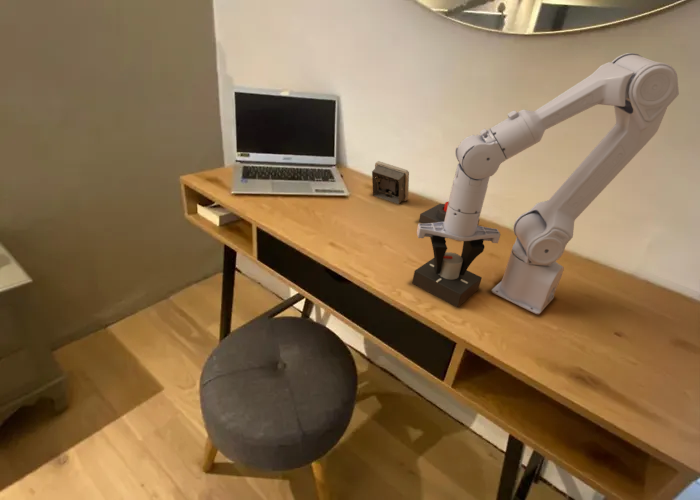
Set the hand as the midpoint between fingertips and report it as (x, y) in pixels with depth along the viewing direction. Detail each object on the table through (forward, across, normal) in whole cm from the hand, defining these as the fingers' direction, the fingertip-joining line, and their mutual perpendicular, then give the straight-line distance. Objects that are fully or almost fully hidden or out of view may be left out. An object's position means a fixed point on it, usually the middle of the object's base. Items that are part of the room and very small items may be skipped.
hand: (448, 271), depth 89 cm
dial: (0, 0, 0) cm, 0 cm away
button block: (+3, -6, -26) cm, 27 cm away
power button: (0, -6, -26) cm, 26 cm away
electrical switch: (+4, +7, -38) cm, 39 cm away
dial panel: (+3, 0, 0) cm, 3 cm away
